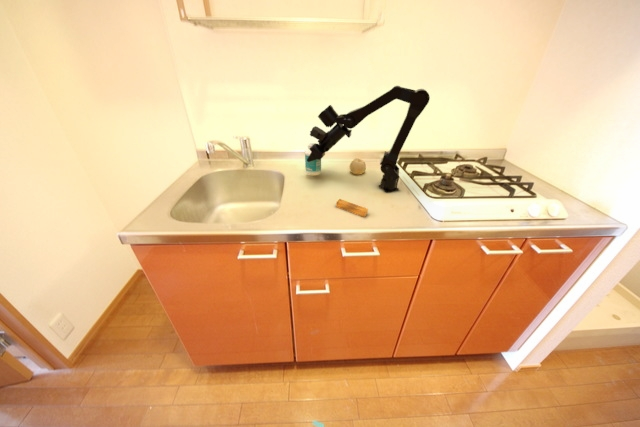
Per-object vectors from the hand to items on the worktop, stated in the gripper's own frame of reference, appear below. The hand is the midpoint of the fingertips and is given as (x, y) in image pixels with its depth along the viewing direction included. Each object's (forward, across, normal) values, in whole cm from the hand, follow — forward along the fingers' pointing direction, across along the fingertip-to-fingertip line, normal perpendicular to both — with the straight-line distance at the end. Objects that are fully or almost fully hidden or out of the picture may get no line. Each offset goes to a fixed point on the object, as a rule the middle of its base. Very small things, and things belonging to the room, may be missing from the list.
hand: (310, 158), depth 105 cm
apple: (-8, -13, +21) cm, 26 cm away
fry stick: (-11, +23, +24) cm, 35 cm away
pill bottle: (+4, 0, +6) cm, 7 cm away
